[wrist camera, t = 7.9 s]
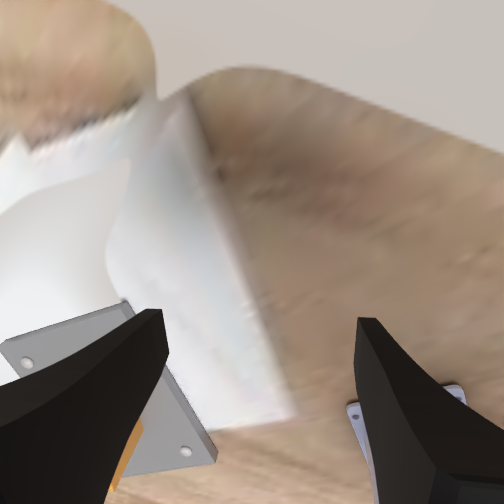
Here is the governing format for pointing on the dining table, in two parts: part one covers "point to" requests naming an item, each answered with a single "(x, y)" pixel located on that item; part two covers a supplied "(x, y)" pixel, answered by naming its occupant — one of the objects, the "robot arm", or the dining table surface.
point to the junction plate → (156, 410)
